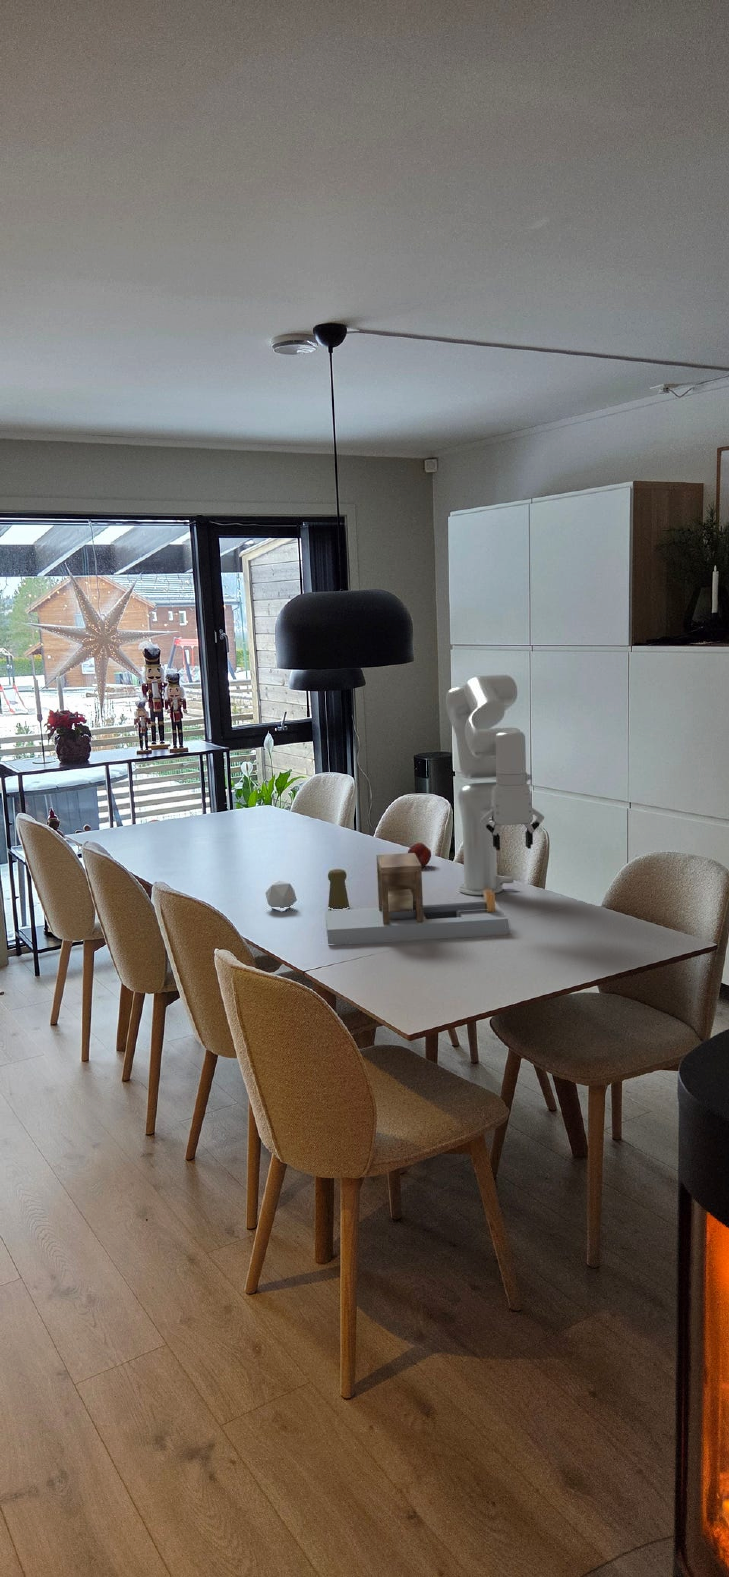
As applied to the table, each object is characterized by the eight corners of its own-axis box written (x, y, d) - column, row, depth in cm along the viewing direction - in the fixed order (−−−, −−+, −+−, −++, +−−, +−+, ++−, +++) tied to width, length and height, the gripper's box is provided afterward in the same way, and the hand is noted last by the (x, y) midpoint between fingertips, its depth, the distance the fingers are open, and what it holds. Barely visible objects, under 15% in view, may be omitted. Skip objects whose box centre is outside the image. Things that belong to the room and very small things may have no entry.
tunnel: (416, 906, 274) (414, 852, 271) (423, 922, 259) (421, 865, 257) (378, 909, 273) (376, 855, 271) (383, 924, 258) (381, 867, 256)
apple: (430, 869, 333) (429, 845, 332) (406, 869, 334) (405, 845, 333) (432, 864, 340) (431, 840, 339) (408, 864, 342) (407, 840, 340)
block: (410, 911, 269) (410, 889, 268) (413, 917, 263) (412, 894, 262) (387, 913, 269) (386, 890, 268) (389, 919, 263) (388, 896, 262)
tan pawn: (325, 907, 293) (323, 868, 292) (345, 904, 295) (343, 866, 294) (332, 911, 288) (330, 873, 286) (352, 909, 290) (350, 870, 288)
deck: (494, 915, 277) (494, 900, 276) (508, 934, 259) (508, 918, 259) (326, 925, 274) (325, 910, 274) (328, 945, 257) (327, 929, 256)
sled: (490, 904, 272) (489, 887, 271) (496, 913, 263) (496, 895, 262) (381, 910, 270) (380, 893, 269) (384, 920, 261) (383, 902, 261)
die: (303, 911, 292) (299, 880, 296) (287, 903, 285) (283, 871, 289) (279, 920, 295) (274, 889, 299) (262, 912, 288) (258, 881, 292)
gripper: (541, 776, 267) (543, 843, 269) (474, 779, 266) (476, 847, 269) (548, 780, 259) (550, 849, 262) (479, 783, 259) (481, 853, 261)
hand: (512, 848), depth 265 cm, fingers open, 7 cm apart
